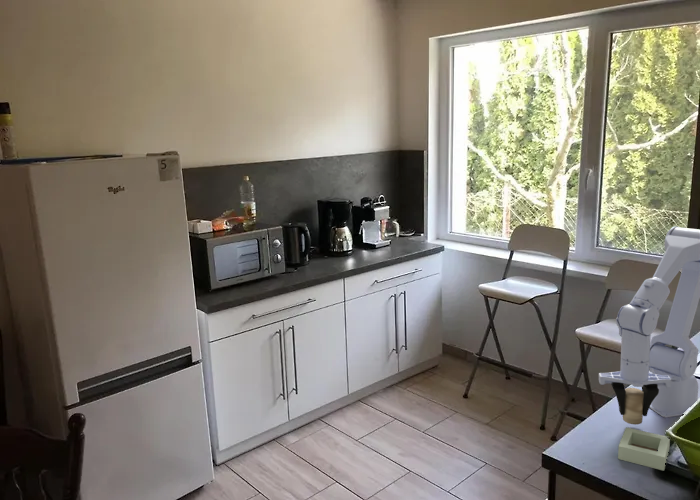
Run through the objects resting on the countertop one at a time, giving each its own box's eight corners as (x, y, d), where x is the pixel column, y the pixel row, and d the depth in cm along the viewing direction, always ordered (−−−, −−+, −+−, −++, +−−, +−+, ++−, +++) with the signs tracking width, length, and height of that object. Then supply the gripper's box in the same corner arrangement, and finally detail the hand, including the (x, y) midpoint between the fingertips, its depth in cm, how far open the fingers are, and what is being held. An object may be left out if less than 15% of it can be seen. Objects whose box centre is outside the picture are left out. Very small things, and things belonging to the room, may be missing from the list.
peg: (634, 414, 132) (635, 386, 131) (646, 422, 128) (647, 394, 127) (619, 416, 132) (620, 389, 130) (630, 425, 128) (631, 397, 126)
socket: (625, 439, 126) (626, 427, 125) (669, 449, 121) (670, 437, 120) (618, 458, 119) (618, 446, 118) (664, 470, 114) (664, 457, 113)
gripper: (603, 364, 125) (601, 420, 128) (676, 366, 121) (673, 424, 124) (597, 351, 131) (596, 405, 134) (667, 353, 128) (664, 408, 131)
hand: (632, 413), depth 130 cm, fingers closed on peg, 4 cm apart
